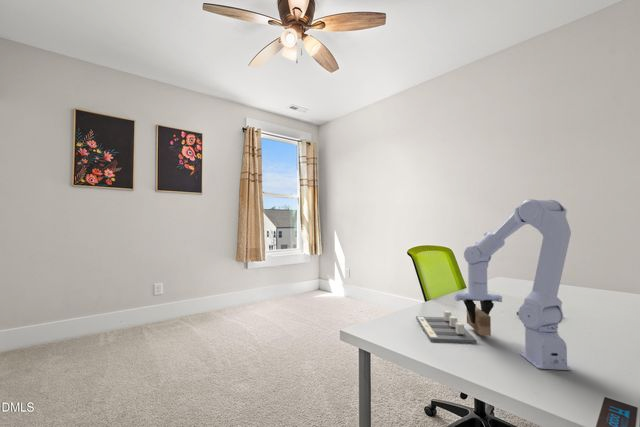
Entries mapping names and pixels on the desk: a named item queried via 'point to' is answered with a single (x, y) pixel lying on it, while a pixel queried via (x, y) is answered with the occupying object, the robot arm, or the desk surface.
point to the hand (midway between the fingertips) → (478, 322)
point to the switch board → (443, 331)
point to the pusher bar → (480, 322)
